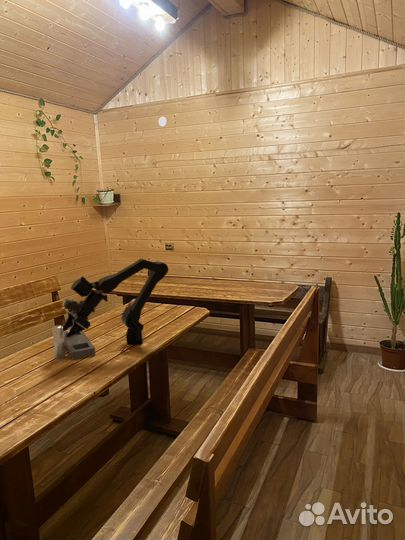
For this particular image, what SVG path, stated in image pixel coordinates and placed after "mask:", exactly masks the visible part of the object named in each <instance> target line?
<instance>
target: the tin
mask: <svg viewBox="0 0 405 540" xmlns="http://www.w3.org/2000/svg"><path fill="white" fill-rule="evenodd" d="M136 298H137V297H136ZM136 298H133V299H131V300H130V301H129V302H128V304H127V306H126V307H128V308H129V307H131V306H132V305H133V303H134V302H135V300H136Z"/></svg>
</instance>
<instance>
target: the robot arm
mask: <svg viewBox="0 0 405 540" xmlns="http://www.w3.org/2000/svg"><path fill="white" fill-rule="evenodd" d="M144 269H145V270H149V272H148V278H147V279H146V281H145V283H144V285H143V286H142V288H141V289H140V291H139V293H138V295H137V297H136V300H135V302H134V303H133V305H132V306H131V307H129V308H128V307H127V306H125V308H124V310H123V312H121V323H122V324H123V325H125V327H126V328H127V331H126V333H125V335H126V337H125V338H126V343H127V345H142V344H143V341H144V337H143V331H144V327H145V326H144V324H142V323H141V322H140V320H141V315H142V310H143V308H144V306H145V305H146V304H147V302H148V300H149V298H150V297H151V295H152V293H153V291H154V289H155V287H156V286H157V285H158V283H159V282H160V281H161V280H163V279H164V277H165V276H166V275H167V274H168V273H169V267H168V264H166V263H165V262H162V261H160V260H156V261H152V260H151V261H150V260H147V259H144V258H139V259H137V261H135V262H133V263H131V264H130V265H128V266H126V267H124V268H123V269H120V270H119V271H117V272H115V273H114V274H110V275H107V276H103V277H101V278H100V279H98V280H97V281H94V282H89V280H87V279H86V278H85V277H84V276H83V275H82V276H81V277H80V278H78V279H77V280H75V281H74V282H73V283H72V285H71V286H70V289H71V290H72V291H73V292H75V293H76V294H77V295H78V296H80V297H81V298H84V297H85V299H84V300H80V301H77V300H73V299H68V298H66V299H65V302H64V303H63V307H64V309H67V311H66V315H67V314H68V318H67V317H66V321H65V322H64V325H62V326H63V332H65V331H68V328H70V327H71V326H72V327H71V328H70V330H69V331H68V333H67V335H66V337H70V336H72V335H74V334H76V333H78V332H80V331H83V332H84V331H86V330H88V329H89V328H90V327H91V322H90V320H89V316H90V315H92V313H95V312H96V310H95V309H96V308H97V307H98V305H99V304H100V303H102V301H105V302H106V303H107V302H108V295H107V294H111V293H112V292H113V291H114V290H116V288H118V286H120V284H121V283H122V282H124V281H125V280H127V279H129V278H131V277H132V276H134V275H136V274H138V273H139V272H141V271H142V270H144ZM103 293H104V294H103Z"/></svg>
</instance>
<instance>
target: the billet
mask: <svg viewBox="0 0 405 540" xmlns="http://www.w3.org/2000/svg"><path fill="white" fill-rule="evenodd" d="M63 326H64V325H61V324H60V325H54V326H52V328H51V329H52V337H53V348H54V356H55V359H56V360H62V359H66V358H67V356H66V354H67V353H66V345H65V343H64V333H63V332H64V331H63Z"/></svg>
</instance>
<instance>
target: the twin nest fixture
mask: <svg viewBox="0 0 405 540" xmlns="http://www.w3.org/2000/svg"><path fill="white" fill-rule="evenodd" d="M63 333H64V343H65V348H66V349H67V350H68V352H69V355H70V356H71V359H72V360H76V359H81V358H86V357H91V356H95V355H96V348H95V346H94V345H93V343H92V342H91V340H90V339H89V338H88V336H87V335H86V333H85V332H84V330H83V331H80V332H78V335H75V336H70V337H66V335H67V333H68V330H65V331H63Z"/></svg>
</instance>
